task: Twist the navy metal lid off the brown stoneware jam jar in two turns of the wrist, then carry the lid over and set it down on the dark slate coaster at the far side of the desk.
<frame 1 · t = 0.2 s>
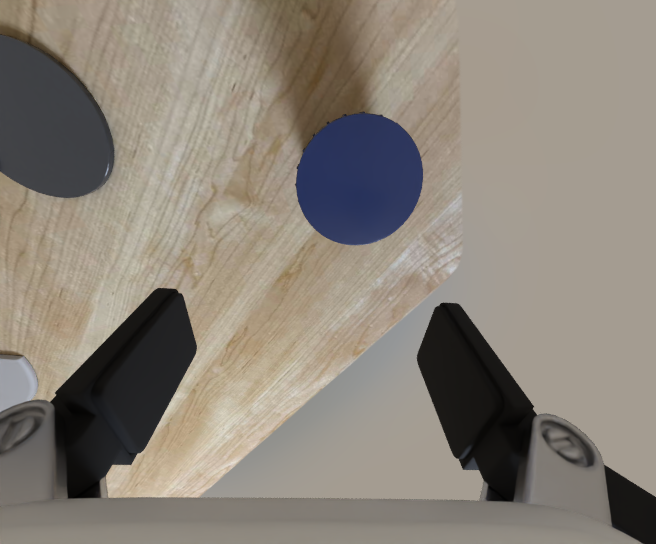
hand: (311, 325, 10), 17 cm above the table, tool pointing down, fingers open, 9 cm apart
lid: (358, 186, 14), point 9 cm above the table, screwed on, not yet turned
coaster: (38, 126, 20), on the table
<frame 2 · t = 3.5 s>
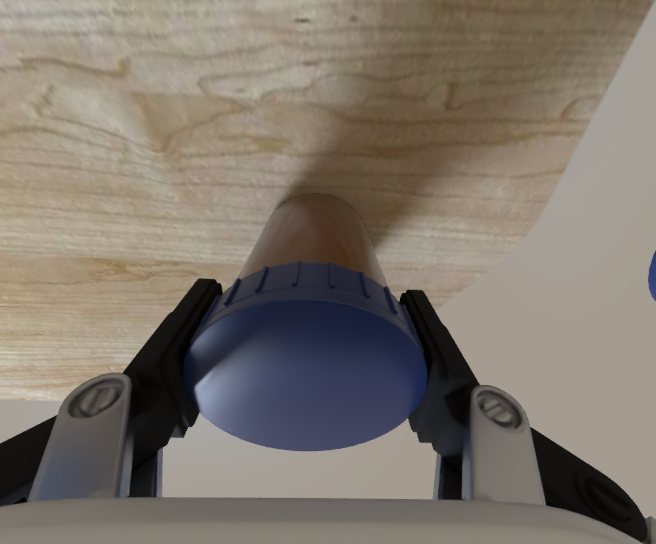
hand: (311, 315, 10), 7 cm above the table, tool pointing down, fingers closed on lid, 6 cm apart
lid: (308, 381, 8), point 9 cm above the table, screwed on, not yet turned, touching gripper
jar: (315, 245, 16), on the table
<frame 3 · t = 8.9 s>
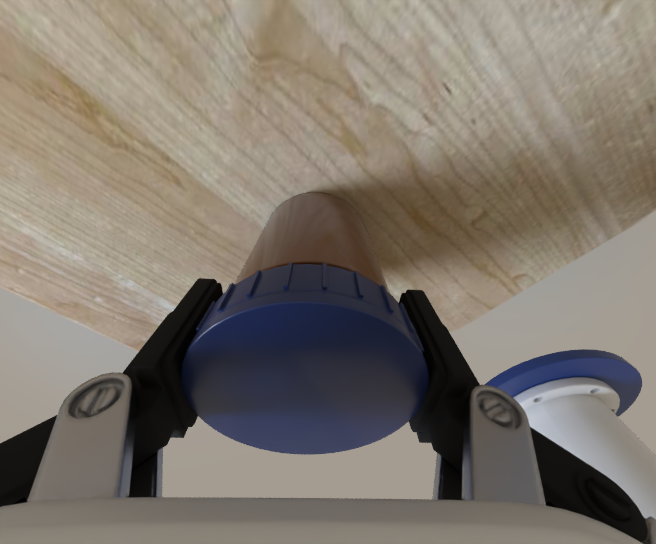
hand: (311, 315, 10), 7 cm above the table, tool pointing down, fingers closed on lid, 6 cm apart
lid: (307, 384, 8), point 10 cm above the table, turned 119° so far, risen 0.3 cm, still on its thread, touching gripper
jar: (315, 244, 16), on the table
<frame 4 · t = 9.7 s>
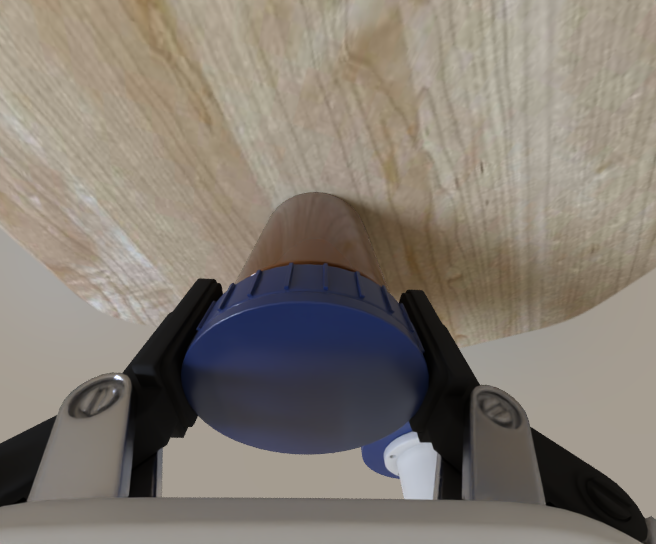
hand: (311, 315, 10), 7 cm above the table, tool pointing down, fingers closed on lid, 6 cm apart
lid: (307, 384, 8), point 10 cm above the table, turned 144° so far, risen 0.4 cm, still on its thread, touching gripper
jar: (315, 243, 16), on the table
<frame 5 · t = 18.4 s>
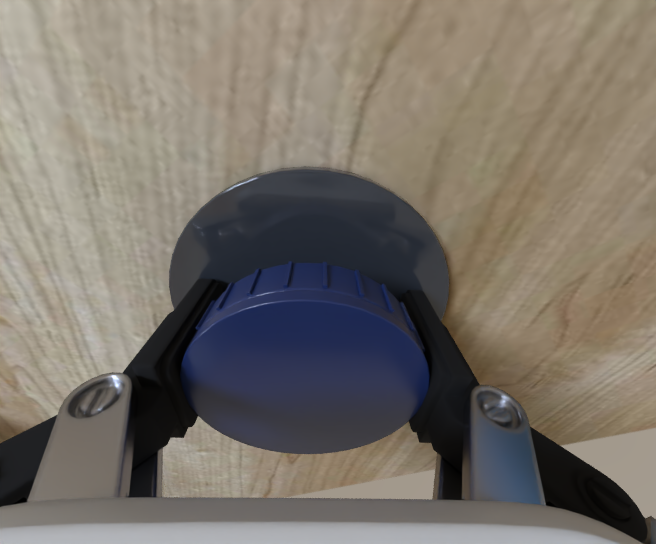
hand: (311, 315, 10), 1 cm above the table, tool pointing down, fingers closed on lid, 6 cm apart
lid: (307, 383, 8), point 4 cm above the table, off its thread, touching gripper
coaster: (312, 304, 11), on the table
when the fingers open (1 cm above the table, at t = 26.1 s): lid drops 3 cm, resting on coaster.
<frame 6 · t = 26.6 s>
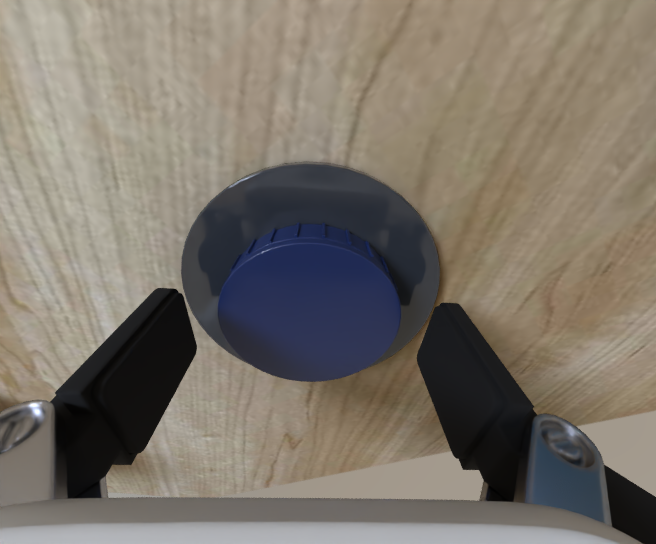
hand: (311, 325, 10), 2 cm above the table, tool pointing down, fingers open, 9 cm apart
lid: (310, 318, 10), point 2 cm above the table, off its thread, touching coaster
coaster: (313, 290, 12), on the table
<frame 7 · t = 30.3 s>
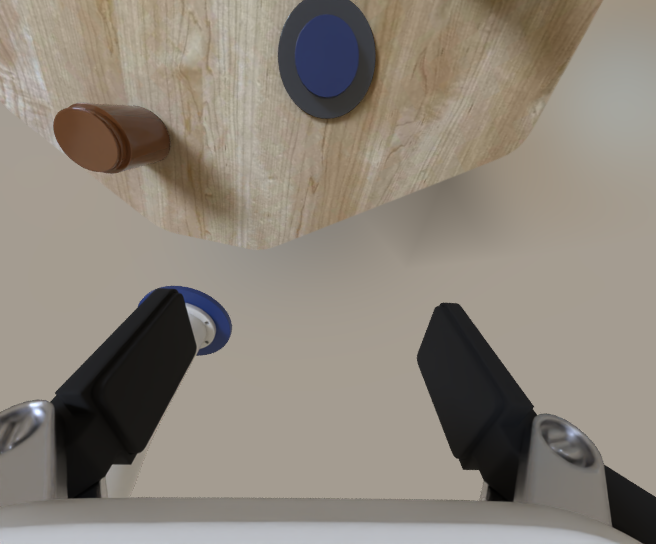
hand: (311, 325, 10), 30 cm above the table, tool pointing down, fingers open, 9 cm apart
lid: (326, 59, 28), point 2 cm above the table, off its thread, touching coaster
coaster: (326, 62, 29), on the table
jar: (144, 135, 33), on the table
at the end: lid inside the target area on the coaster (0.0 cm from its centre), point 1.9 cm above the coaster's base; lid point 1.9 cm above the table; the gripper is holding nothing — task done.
